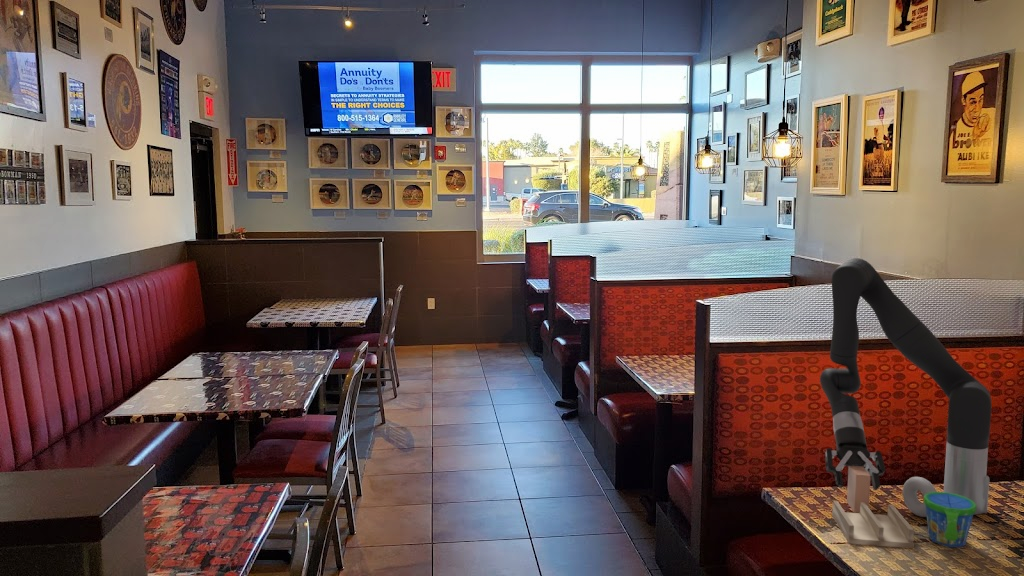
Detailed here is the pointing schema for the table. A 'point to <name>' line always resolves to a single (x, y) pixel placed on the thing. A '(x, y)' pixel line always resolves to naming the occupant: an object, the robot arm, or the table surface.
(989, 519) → the table surface
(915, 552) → the table surface
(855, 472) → the pink rectangular block
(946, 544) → the snack cup
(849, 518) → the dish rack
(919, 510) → the grey ring
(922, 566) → the table surface
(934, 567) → the table surface
